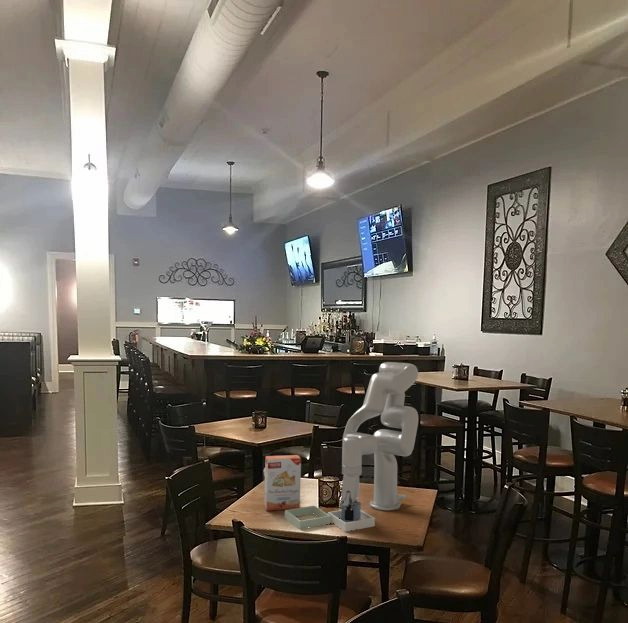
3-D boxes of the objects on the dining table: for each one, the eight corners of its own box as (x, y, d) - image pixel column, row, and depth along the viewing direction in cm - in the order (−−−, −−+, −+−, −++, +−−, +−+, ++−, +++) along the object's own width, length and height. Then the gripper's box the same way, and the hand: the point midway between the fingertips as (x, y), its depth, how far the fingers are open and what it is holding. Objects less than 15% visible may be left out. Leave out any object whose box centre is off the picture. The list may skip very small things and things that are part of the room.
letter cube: (345, 515, 214) (345, 499, 214) (360, 517, 212) (360, 501, 212) (341, 521, 208) (341, 504, 208) (357, 523, 206) (357, 506, 207)
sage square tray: (314, 513, 220) (314, 505, 220) (330, 524, 209) (330, 516, 209) (284, 518, 214) (284, 510, 214) (299, 529, 203) (300, 521, 203)
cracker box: (266, 511, 221) (267, 459, 221) (263, 506, 227) (264, 455, 227) (300, 509, 225) (301, 457, 225) (296, 504, 230) (297, 454, 231)
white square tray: (356, 515, 219) (356, 507, 219) (374, 526, 208) (374, 518, 208) (327, 520, 213) (327, 512, 213) (345, 531, 201) (345, 523, 201)
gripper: (347, 463, 220) (346, 508, 220) (336, 474, 203) (335, 524, 203) (365, 465, 218) (365, 511, 217) (356, 476, 201) (355, 526, 201)
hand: (350, 516), depth 210 cm, fingers closed on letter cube, 5 cm apart
